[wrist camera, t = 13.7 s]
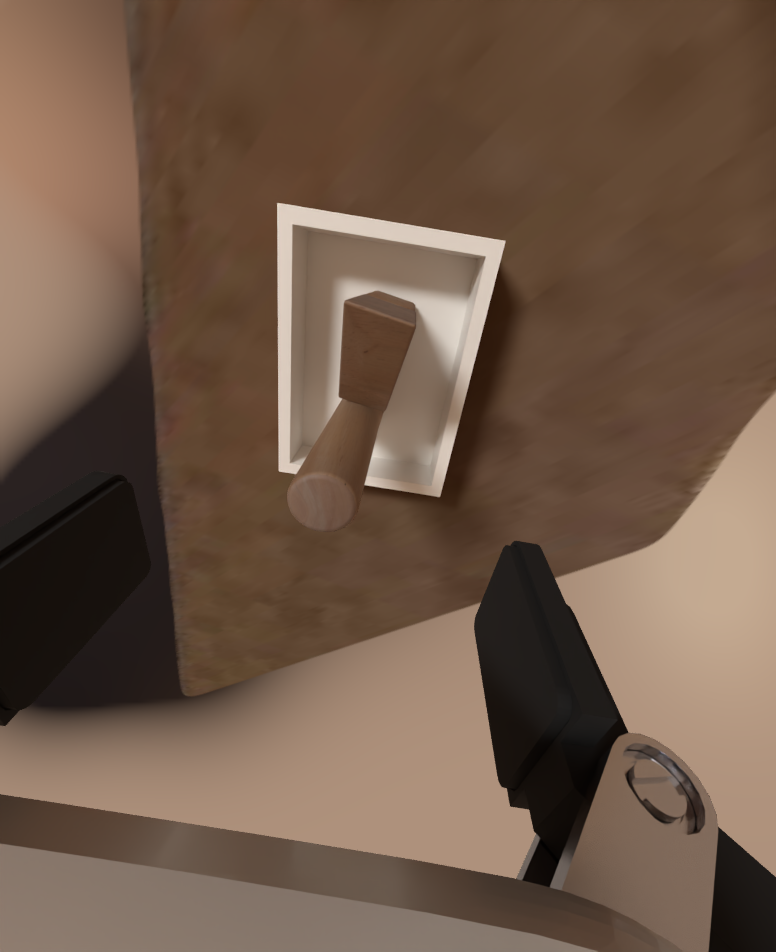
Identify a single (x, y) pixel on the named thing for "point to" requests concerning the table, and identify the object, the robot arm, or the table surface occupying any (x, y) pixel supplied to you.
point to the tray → (431, 349)
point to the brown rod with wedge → (354, 411)
